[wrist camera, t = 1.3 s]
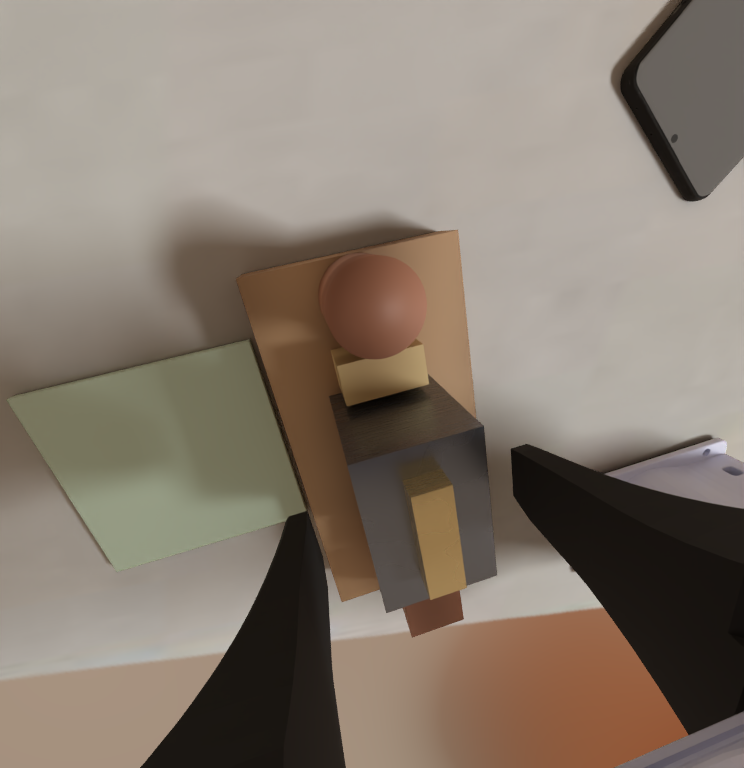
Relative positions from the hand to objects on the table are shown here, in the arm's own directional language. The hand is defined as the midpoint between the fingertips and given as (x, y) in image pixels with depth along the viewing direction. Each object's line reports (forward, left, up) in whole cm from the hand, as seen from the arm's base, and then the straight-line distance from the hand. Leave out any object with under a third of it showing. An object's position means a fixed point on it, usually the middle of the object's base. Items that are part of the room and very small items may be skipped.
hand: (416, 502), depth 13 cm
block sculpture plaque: (0, 0, -6) cm, 6 cm away
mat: (+9, -1, -6) cm, 11 cm away
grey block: (0, 0, -4) cm, 4 cm away
